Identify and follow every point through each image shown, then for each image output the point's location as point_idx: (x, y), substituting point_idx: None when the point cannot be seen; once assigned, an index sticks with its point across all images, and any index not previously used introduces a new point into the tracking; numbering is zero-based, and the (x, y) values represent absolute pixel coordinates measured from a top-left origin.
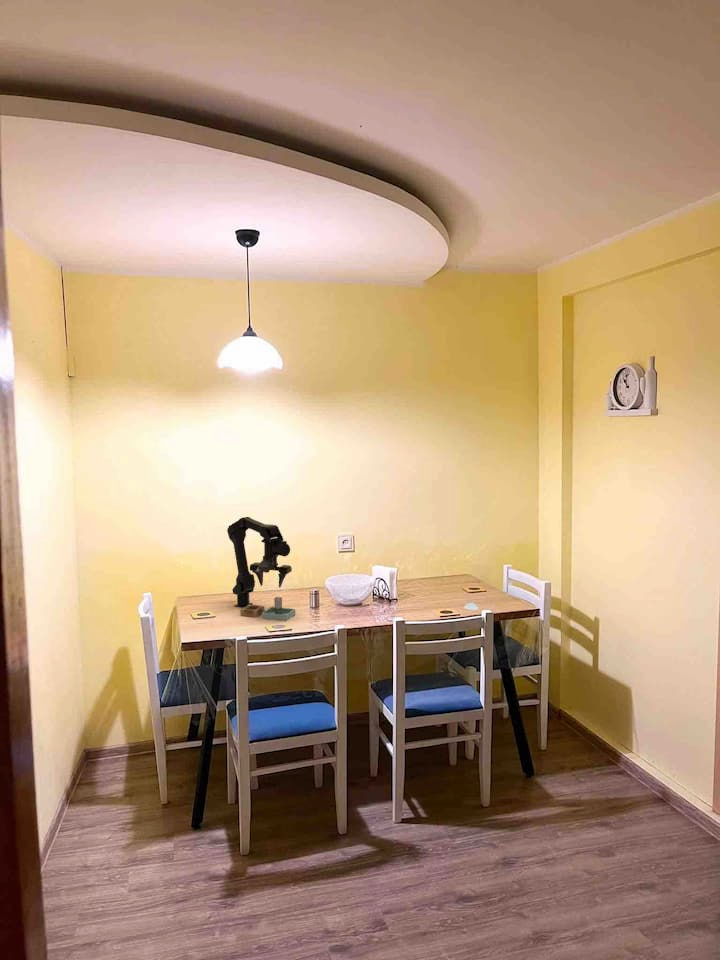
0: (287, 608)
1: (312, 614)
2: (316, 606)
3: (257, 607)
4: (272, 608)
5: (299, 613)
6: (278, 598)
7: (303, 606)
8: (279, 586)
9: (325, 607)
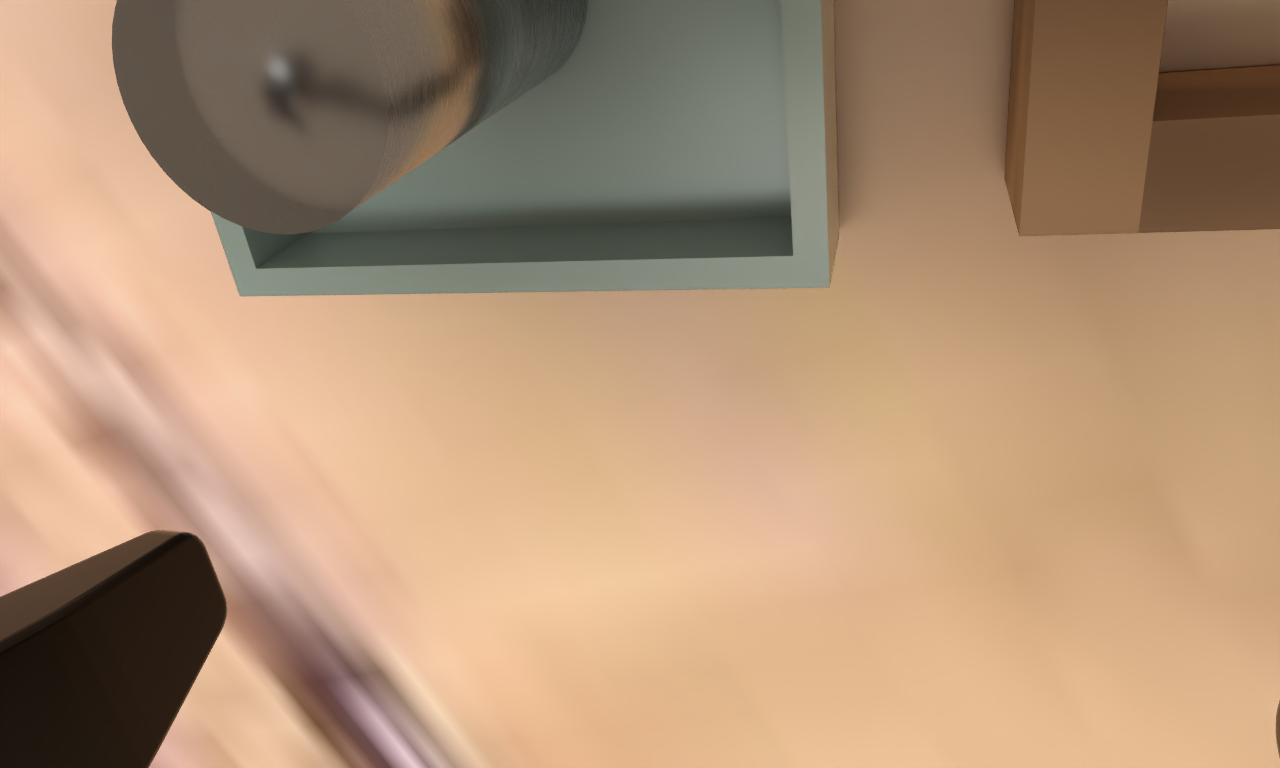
0: (400, 282)
1: (110, 364)
2: (336, 716)
3: (1222, 111)
4: (779, 244)
5: (315, 356)
6: (183, 21)
7: (498, 693)
8: (113, 551)
9: (208, 694)
